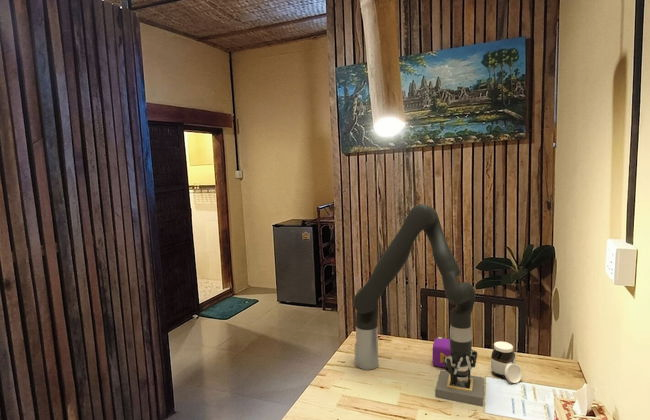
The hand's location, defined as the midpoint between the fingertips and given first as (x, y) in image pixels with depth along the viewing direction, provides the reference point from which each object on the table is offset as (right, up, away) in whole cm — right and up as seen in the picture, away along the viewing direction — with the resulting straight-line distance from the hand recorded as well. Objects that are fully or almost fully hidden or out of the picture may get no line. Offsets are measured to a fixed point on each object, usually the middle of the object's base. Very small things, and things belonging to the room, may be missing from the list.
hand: (460, 380), depth 146 cm
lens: (0, -2, 0) cm, 2 cm away
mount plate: (0, -4, 0) cm, 4 cm away
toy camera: (+2, -2, +20) cm, 20 cm away
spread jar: (+21, -2, +10) cm, 24 cm away
